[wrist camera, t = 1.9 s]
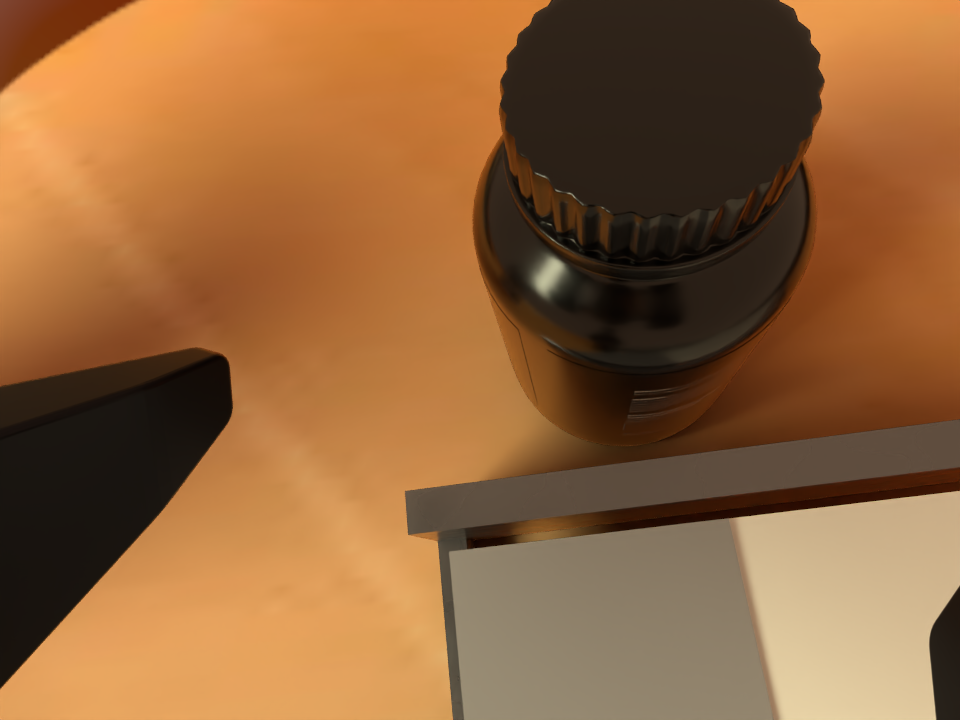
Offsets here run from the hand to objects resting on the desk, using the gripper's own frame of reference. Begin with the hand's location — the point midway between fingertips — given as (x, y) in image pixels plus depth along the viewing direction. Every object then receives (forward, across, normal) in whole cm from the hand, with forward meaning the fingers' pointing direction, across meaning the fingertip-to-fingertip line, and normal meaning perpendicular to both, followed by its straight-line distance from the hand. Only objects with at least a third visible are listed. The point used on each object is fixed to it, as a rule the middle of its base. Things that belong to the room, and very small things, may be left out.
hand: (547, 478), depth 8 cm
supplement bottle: (+13, 0, +4) cm, 14 cm away
